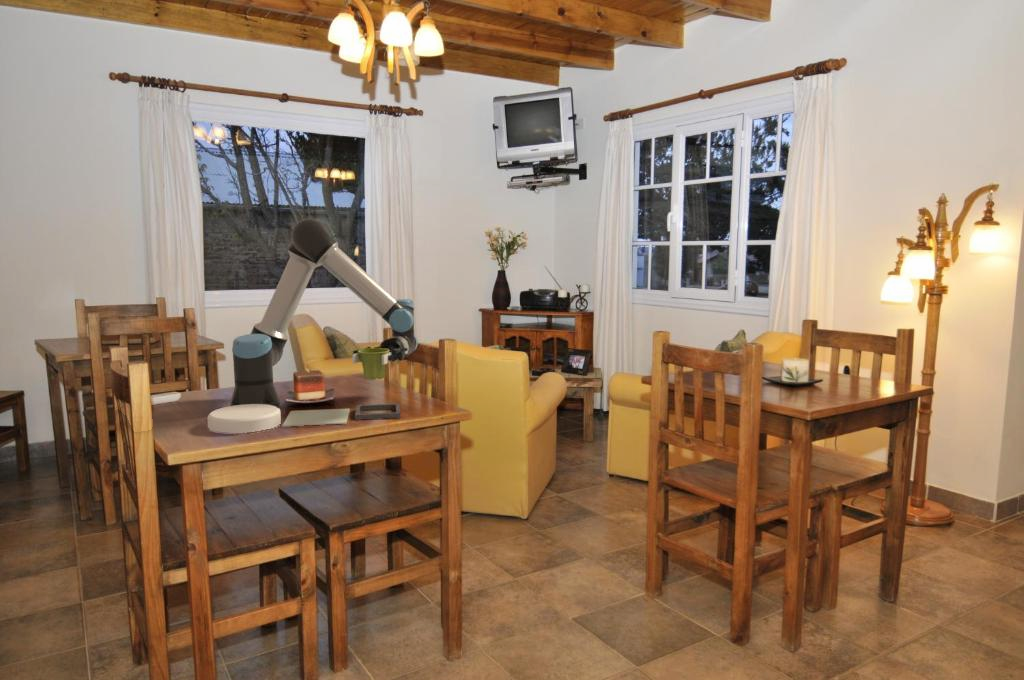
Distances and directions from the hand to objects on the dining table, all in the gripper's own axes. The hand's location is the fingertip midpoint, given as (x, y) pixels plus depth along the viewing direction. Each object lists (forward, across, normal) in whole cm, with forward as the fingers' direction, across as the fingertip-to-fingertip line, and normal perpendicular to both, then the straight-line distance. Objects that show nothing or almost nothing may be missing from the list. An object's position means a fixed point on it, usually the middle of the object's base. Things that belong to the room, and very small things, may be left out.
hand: (368, 359), depth 215 cm
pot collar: (-5, -1, -18) cm, 19 cm away
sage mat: (+3, +15, -18) cm, 24 cm away
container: (+15, +32, -18) cm, 40 cm away
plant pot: (-5, 0, -7) cm, 8 cm away
